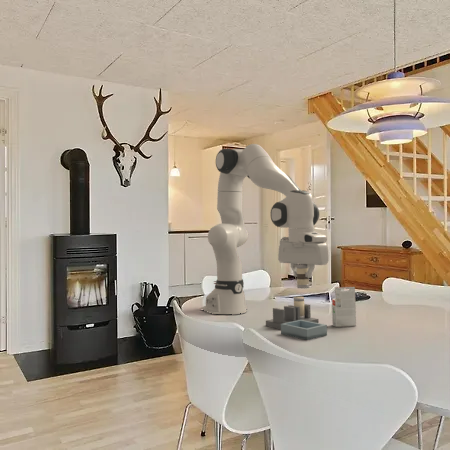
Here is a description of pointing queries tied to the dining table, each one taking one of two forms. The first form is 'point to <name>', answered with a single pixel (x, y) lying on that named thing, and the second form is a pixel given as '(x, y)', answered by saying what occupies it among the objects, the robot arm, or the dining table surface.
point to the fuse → (300, 303)
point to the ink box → (344, 307)
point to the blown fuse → (302, 276)
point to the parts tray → (304, 329)
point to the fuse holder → (289, 316)
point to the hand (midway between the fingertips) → (302, 277)
